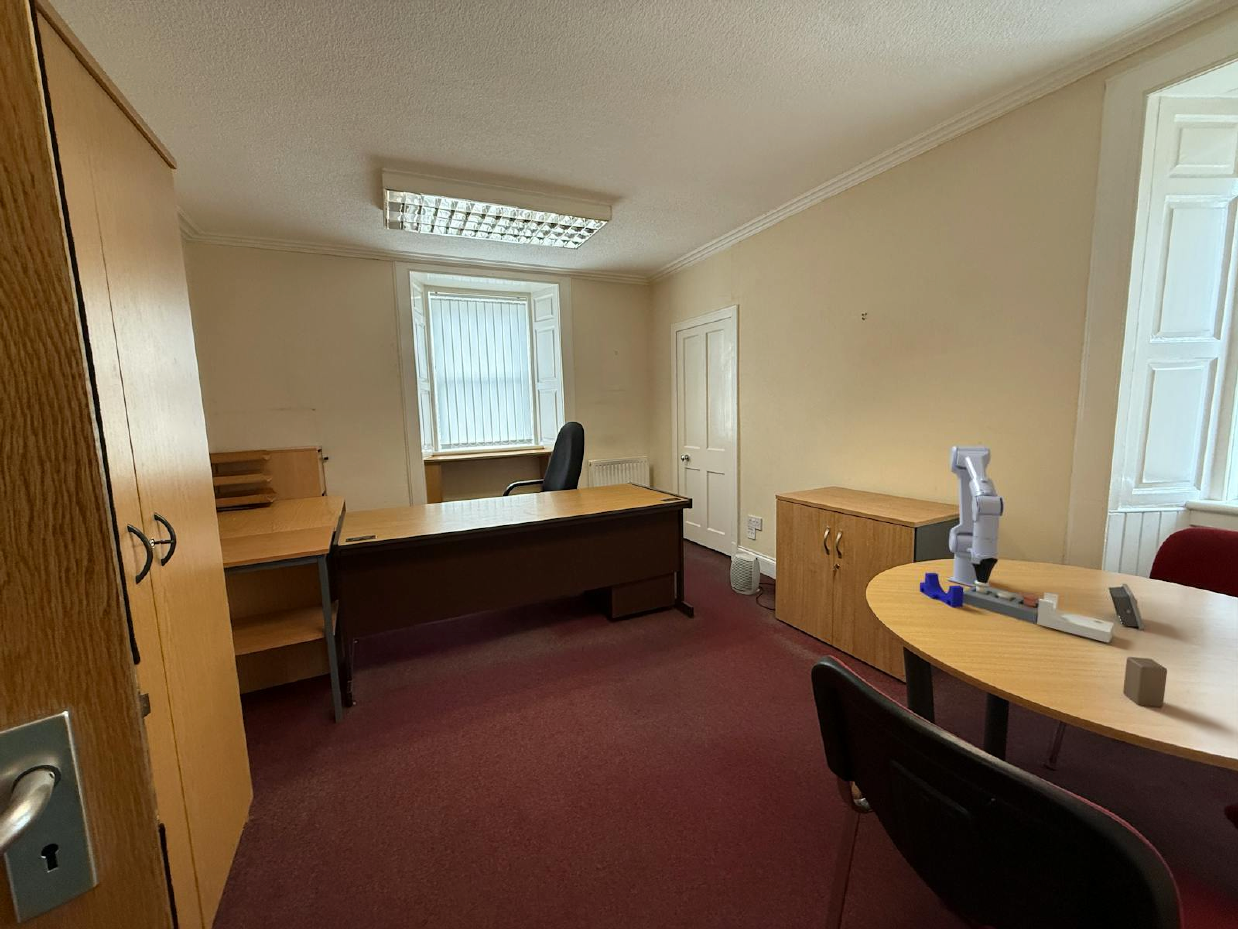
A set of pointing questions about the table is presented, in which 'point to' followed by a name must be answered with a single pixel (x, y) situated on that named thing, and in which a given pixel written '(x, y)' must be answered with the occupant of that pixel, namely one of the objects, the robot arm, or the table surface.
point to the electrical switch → (1126, 606)
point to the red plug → (1029, 599)
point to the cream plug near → (982, 587)
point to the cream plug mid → (1005, 595)
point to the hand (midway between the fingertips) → (982, 582)
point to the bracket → (1071, 620)
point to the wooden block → (1145, 681)
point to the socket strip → (1001, 604)
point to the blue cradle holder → (941, 591)
